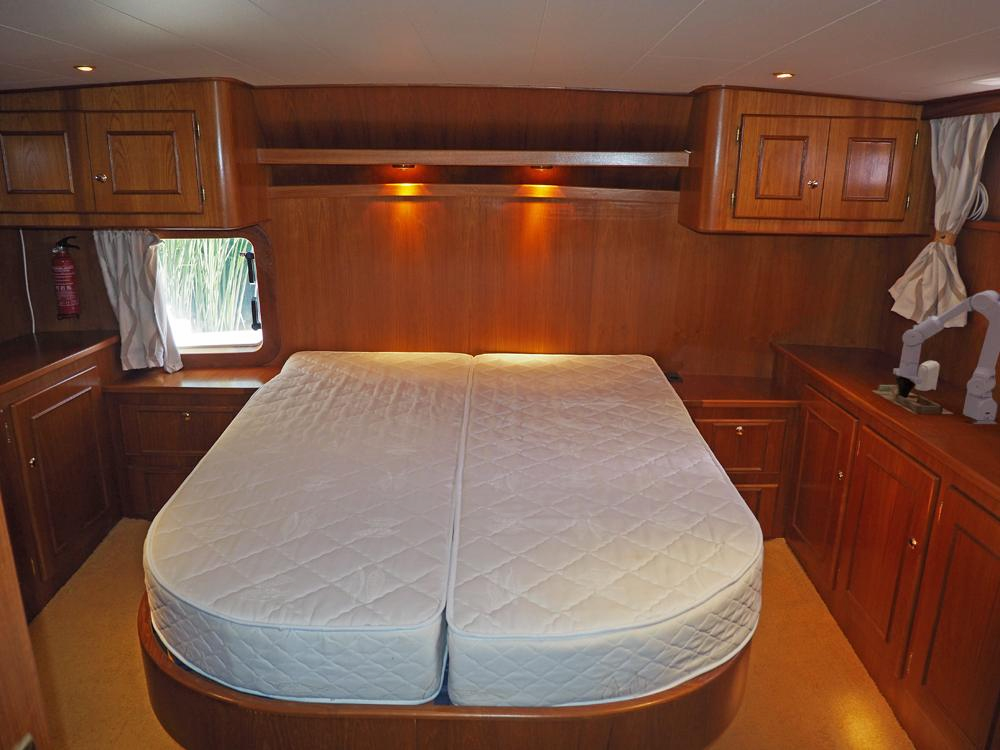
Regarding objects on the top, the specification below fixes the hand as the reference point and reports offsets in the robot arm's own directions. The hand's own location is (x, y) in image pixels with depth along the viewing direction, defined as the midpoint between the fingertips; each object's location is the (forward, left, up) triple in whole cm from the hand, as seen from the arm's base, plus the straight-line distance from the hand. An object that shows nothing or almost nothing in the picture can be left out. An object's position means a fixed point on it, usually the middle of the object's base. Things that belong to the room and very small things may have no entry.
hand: (903, 397), depth 261 cm
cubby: (-10, 0, -1) cm, 10 cm away
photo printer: (+15, -18, -3) cm, 24 cm away
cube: (+3, 0, -1) cm, 4 cm away
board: (-1, -2, -2) cm, 3 cm away
